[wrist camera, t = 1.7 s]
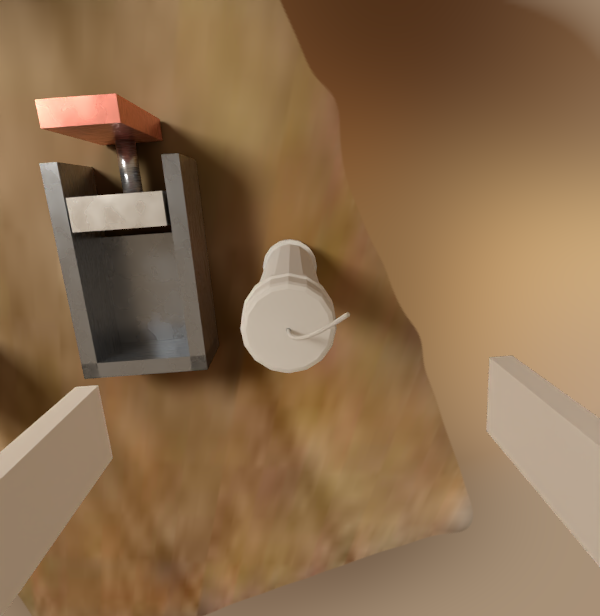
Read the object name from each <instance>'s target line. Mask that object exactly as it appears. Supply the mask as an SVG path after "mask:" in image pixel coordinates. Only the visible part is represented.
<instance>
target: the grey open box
mask: <svg viewBox="0 0 600 616" xmlns="http://www.w3.org/2000/svg"><path fill="white" fill-rule="evenodd" d="M161 157H162V164H163V171H164V178H165V185H166V192H167V199H168V206H169V213H170V220H171V227H172V232H165V233H151V234H137V235H124V236H110V237H105V232H104V230H101V231H88V232H74V233H72V228H71V223H70V218H69V213H68V208H67V203H66V198H70V197H84V196H97V195H98V193H97V188H96V182H95V177H94V171H93V167H86V166H79V165H73V164H66V163H59V162H52V163H39V165H40V169H41V174H42V179H43V184H44V188H45V193H46V198H47V203H48V207H49V212H50V217H51V222H52V226H53V231H54V236H55V241H56V245H57V250H58V255H59V260H60V264H61V269H62V274H63V279H64V283H65V288H66V293H67V298H68V302H69V307H70V312H71V317H72V321H73V326H74V331H75V336H76V340H77V345H78V350H79V355H80V359H81V364H82V369H83V374H84V378H85V379H88V378H101V377H115V376H128V375H142V374H156V373H169V372H183V371H196V370H208V367H209V365H210V363H211V361H212V359H213V357H214V355H215V353H216V351H217V349H218V347H219V341H218V333H217V325H216V317H215V309H214V301H213V293H212V285H211V277H210V269H209V261H208V253H207V245H206V237H205V229H204V221H203V213H202V205H201V197H200V189H199V181H198V172H197V164H196V160H195V159H192V158H190V157H187V156H185V155H182V154H179V153H174V154H161Z"/></svg>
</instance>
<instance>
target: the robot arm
mask: <svg viewBox="0 0 600 616" xmlns="http://www.w3.org/2000/svg"><path fill="white" fill-rule="evenodd" d="M488 380H489V381H488V404H487V432H488V434H489V435H490V436H491V437H492V438H493V440H494V441H495V442H496V443H497V444H498V446H499V447H500V448H501V449H502V450H503V452H504V453H505V454H506V455H507V456H508V457H509V459H510V460H511V461H512V462H513V464H514V465H515V466H516V467H517V468H518V470H519V471H520V472H521V473H522V474H523V476H524V477H525V478H526V479H527V480H528V482H529V483H530V484H531V485H532V486H533V488H534V489H535V490H536V491H537V492H538V494H539V495H540V496H541V497H542V499H543V500H544V501H545V502H546V503H547V505H548V506H549V507H550V508H551V509H552V510H553V512H554V513H555V514H556V515H557V517H558V518H559V519H560V520H561V521H562V523H563V524H564V525H565V526H566V527H567V529H568V530H569V531H570V532H571V533H572V535H573V536H574V537H575V538H576V539H577V540H578V542H579V543H580V544H581V545H582V547H583V548H584V549H585V550H586V551H587V552H588V554H589V555H590V556H591V557H592V558H593V560H594V561H595V562H596V563H597V565H598V566H599V567H600V418H599V417H597V416H596V415H595V414H593V413H592V412H590V411H589V410H588V409H586V408H585V407H583V406H582V405H581V404H579V403H578V402H576V401H575V400H573V399H572V398H571V397H569V396H568V395H567V394H565V393H564V392H562V391H561V390H560V389H558V388H557V387H555V386H554V385H552V384H551V383H550V382H549V381H547V380H546V379H544V378H543V377H541V376H540V375H539V374H537V373H536V372H535V371H533V370H532V369H530V368H529V367H528V366H526V365H525V364H523V363H522V362H520V361H519V360H518V359H516V358H515V357H514V356H500V357H489V379H488ZM112 458H113V457H112V452H111V447H110V442H109V437H108V432H107V427H106V422H105V417H104V412H103V407H102V402H101V397H100V392H99V387H98V385H96V386H82V387H75V388H74V389H73V390H71V391H70V392H69V393H68V394H67V395H66V396H64V397H63V398H62V399H61V400H60V401H59V402H58V403H56V404H55V405H54V406H53V407H52V408H51V409H49V410H48V411H47V412H46V413H45V414H44V415H42V416H41V417H40V418H39V419H38V420H37V421H36V422H34V423H33V424H32V425H31V426H30V427H29V428H27V429H26V430H25V431H24V432H23V433H22V434H21V435H19V436H18V437H17V438H16V439H15V440H14V441H12V442H11V443H10V444H9V445H8V446H7V447H6V448H4V449H3V450H2V451H1V452H0V616H3V615H4V614H5V612H6V611H7V609H8V608H9V606H10V605H11V603H12V602H13V601H14V599H15V598H16V596H17V595H18V593H19V592H20V591H21V589H22V588H23V586H24V585H25V583H26V582H27V580H28V579H29V578H30V576H31V575H32V573H33V572H34V570H35V569H36V568H37V566H38V565H39V563H40V562H41V560H42V559H43V557H44V556H45V555H46V553H47V552H48V550H49V549H50V547H51V546H52V545H53V543H54V542H55V540H56V539H57V537H58V536H59V534H60V533H61V532H62V530H63V529H64V527H65V526H66V524H67V523H68V522H69V520H70V519H71V517H72V516H73V514H74V513H75V511H76V510H77V509H78V507H79V506H80V504H81V503H82V501H83V500H84V499H85V497H86V496H87V494H88V493H89V491H90V490H91V488H92V487H93V486H94V484H95V483H96V481H97V480H98V478H99V477H100V476H101V474H102V473H103V471H104V470H105V468H106V467H107V465H108V464H109V463H110V461H111V460H112Z"/></svg>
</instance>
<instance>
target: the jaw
mask: <svg viewBox="0 0 600 616" xmlns="http://www.w3.org/2000/svg"><path fill="white" fill-rule="evenodd" d="M35 102H36V107H37V112H38V117H39V121H40V126H41V129H45V130H49V131H52V132H56V133H60V134H63V135H67V136H71V137H74V138H78V139H82V140H85V141H89V142H93V143H97V144H100V145H112V144H115V145H116V151H117V157H118V163H119V169H120V175H121V181H122V187H123V193H124V194H111V195H97V196H84V197H70V198H66V203H67V208H68V213H69V218H70V223H71V228H72V233H74V232H88V231H101V230H115V229H129V228H142V227H156V226H168V225H171V220H170V213H169V206H168V199H167V192H166V191H152V192H143V189H142V183H141V176H140V170H139V164H138V157H137V151H136V144H135V143H139V142H153V141H163V140H162V132H161V125H160V119H158V118H157V117H155V116H153V115H152V114H150V113H148V112H146V111H145V110H143V109H141V108H140V107H138V106H136V105H134V104H133V103H131V102H129V101H128V100H126V99H124V98H123V97H121V96H119V95H117V94H103V95H89V96H75V97H62V98H48V99H35Z"/></svg>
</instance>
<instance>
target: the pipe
mask: <svg viewBox="0 0 600 616" xmlns="http://www.w3.org/2000/svg"><path fill="white" fill-rule="evenodd" d="M316 269H317V265H316V259H315V256H314V254H313V253H312V251H311V249H310V248H309V247H308V246H306V245H305V244H303V243H302V242H301V241H297V240H292V239H288V240H283V241H279V242H278V243H276V244H275V245H273V246H272V247H271V248H270V249H269V251H268V252H267V254H266V255H265V258H264V264H263V270H264V272H263V274H262V277H261V280H260V282H259V283H258V284H256V285H255V286H254V288H253V289H252V291H251V292H250V294H249V295H248V297H247V298H246V300H245V302H244V307H243V312H242V318H241V327H240V329H241V334H242V338H243V342H244V346H245V347H246V349H247V350H248V351H249V353H250V354H251V355H252V357H253V358H254V360H255V361H257V362H259V363H260V364H262V365H264V366H265V367H267V368H268V369H270V370H274V371H279V372H285V373H292V372H297V371H303V370H307V369H308V368H310V367H312V366H313V365H315V364H316V363H318V362H320V361H321V360H322V359H323V358H324V356H325V355H326V354H327V352H328V351H329V350H330V348H331V347H332V345H333V341H334V337H335V332H336V325H337V324H338V323H340V322H341V321H343V320H344V319H346V318H347V317H349V316H350V314H349V312H346V313H345V314H343V315H342V316H340V317H339V318H337V319H336V317H335V312H334V306H333V302H332V299H331V298H330V296H329V295H328V293H327V292H326V290H325V289H324V287H323V286H322V285H321V284H319V281H318V278H317V275H316Z"/></svg>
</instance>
